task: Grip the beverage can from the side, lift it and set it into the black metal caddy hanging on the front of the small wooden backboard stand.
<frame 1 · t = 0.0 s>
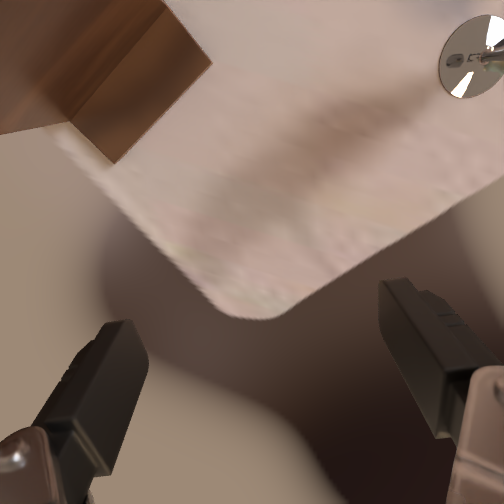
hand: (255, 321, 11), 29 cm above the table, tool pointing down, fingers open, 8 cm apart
wine glass: (474, 58, 33), on the table
wooden backboard stand: (58, 1, 30), on the table
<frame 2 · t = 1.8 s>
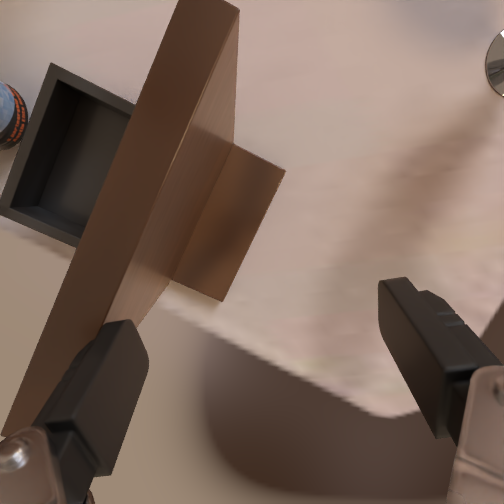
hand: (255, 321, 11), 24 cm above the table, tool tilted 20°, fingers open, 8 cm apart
wooden backboard stand: (136, 182, 32), on the table
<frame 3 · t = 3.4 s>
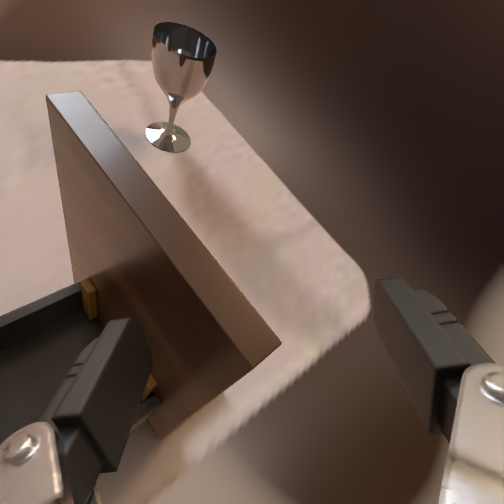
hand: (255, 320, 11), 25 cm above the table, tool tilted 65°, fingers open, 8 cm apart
wine glass: (168, 137, 52), on the table
wooden backboard stand: (55, 411, 28), on the table
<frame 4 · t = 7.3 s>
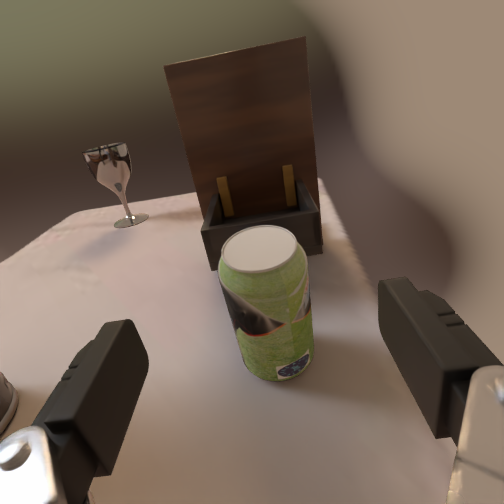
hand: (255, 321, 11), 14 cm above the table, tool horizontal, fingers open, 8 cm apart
wine glass: (131, 221, 68), on the table
wooden backboard stand: (270, 275, 39), on the table
beverage can: (280, 365, 27), on the table
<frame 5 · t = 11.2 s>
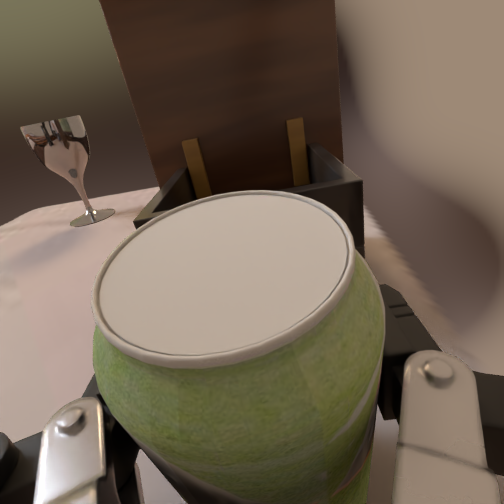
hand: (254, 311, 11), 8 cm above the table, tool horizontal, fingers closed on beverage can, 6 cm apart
wine glass: (93, 218, 53), on the table
wooden backboard stand: (269, 295, 25), on the table
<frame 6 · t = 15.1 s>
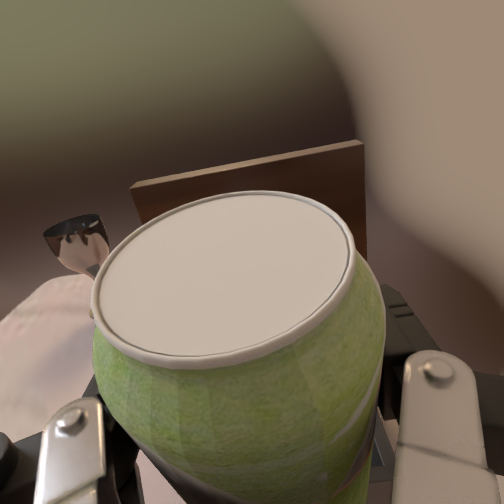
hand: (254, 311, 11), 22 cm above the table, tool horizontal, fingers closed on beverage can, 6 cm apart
wine glass: (111, 306, 55), on the table
wooden backboard stand: (300, 476, 26), on the table
when the fingers open (14 cm above the table, at t = 19.2 s): beverage can stays where it is, resting on wooden backboard stand.
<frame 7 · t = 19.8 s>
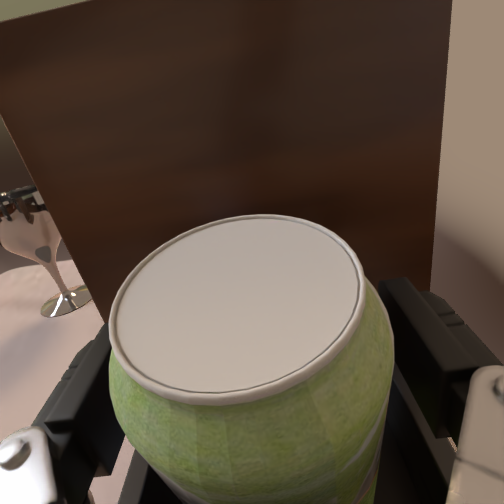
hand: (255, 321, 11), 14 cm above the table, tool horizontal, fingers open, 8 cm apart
wine glass: (69, 300, 44), on the table
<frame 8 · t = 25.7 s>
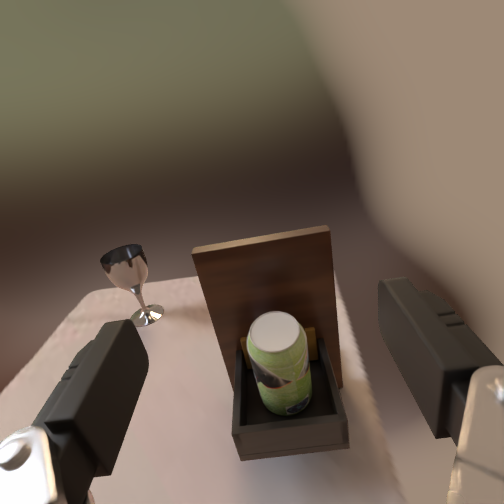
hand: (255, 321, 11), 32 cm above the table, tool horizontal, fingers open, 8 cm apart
wine glass: (147, 315, 69), on the table
wooden backboard stand: (293, 433, 40), on the table
beverage can: (288, 402, 37), point 6 cm above the table, touching wooden backboard stand
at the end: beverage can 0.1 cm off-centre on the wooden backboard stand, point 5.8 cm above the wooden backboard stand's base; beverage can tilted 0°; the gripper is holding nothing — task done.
